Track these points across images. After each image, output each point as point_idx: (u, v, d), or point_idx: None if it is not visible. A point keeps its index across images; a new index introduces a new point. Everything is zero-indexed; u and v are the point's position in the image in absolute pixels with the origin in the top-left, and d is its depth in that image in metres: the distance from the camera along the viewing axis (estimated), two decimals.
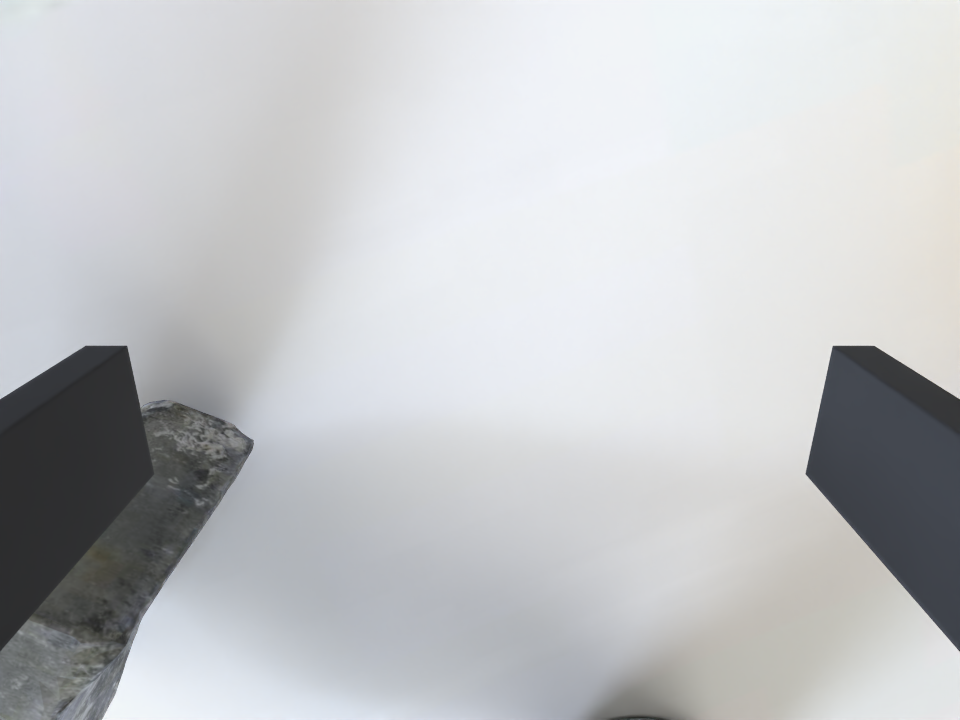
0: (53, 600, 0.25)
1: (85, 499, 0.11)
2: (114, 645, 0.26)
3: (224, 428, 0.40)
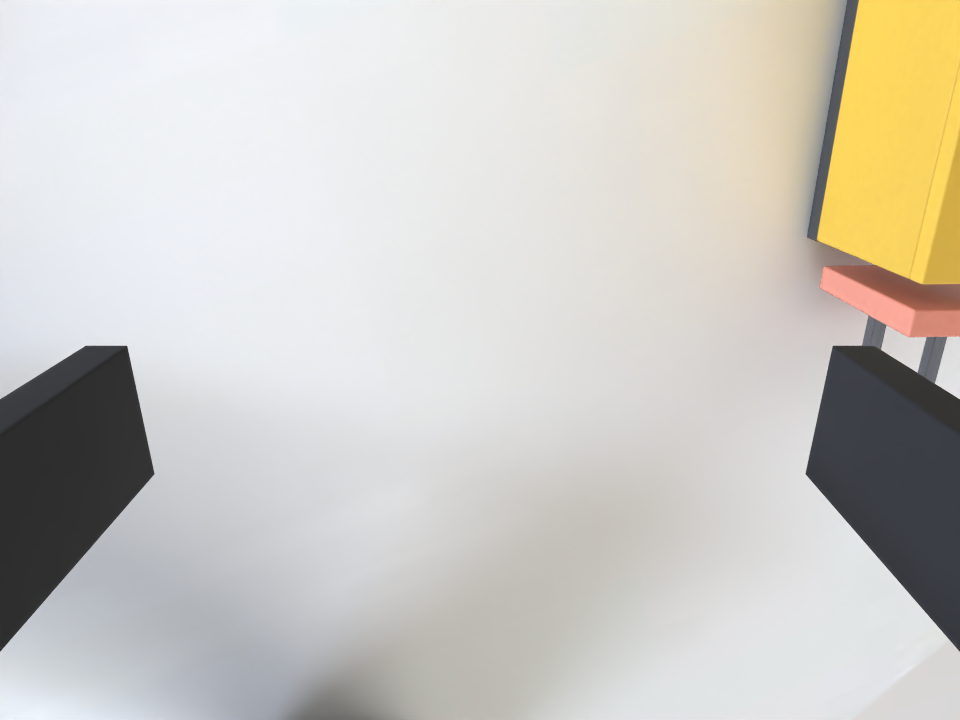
0: None
1: (85, 499, 0.11)
2: None
3: None
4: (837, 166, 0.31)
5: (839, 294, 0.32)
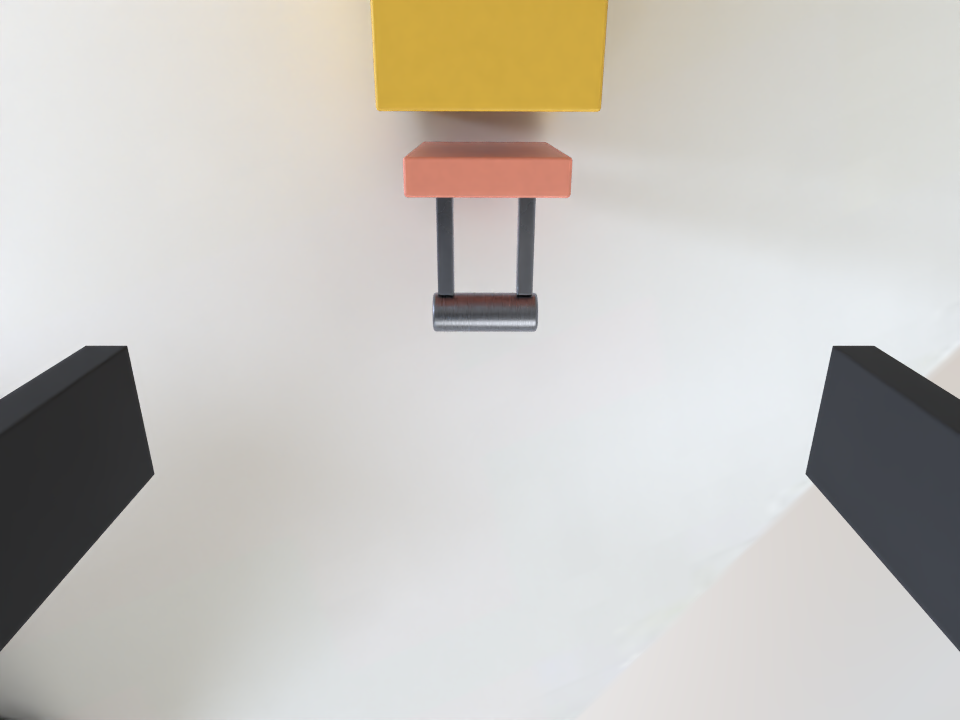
0: None
1: (85, 499, 0.11)
2: None
3: None
4: None
5: None
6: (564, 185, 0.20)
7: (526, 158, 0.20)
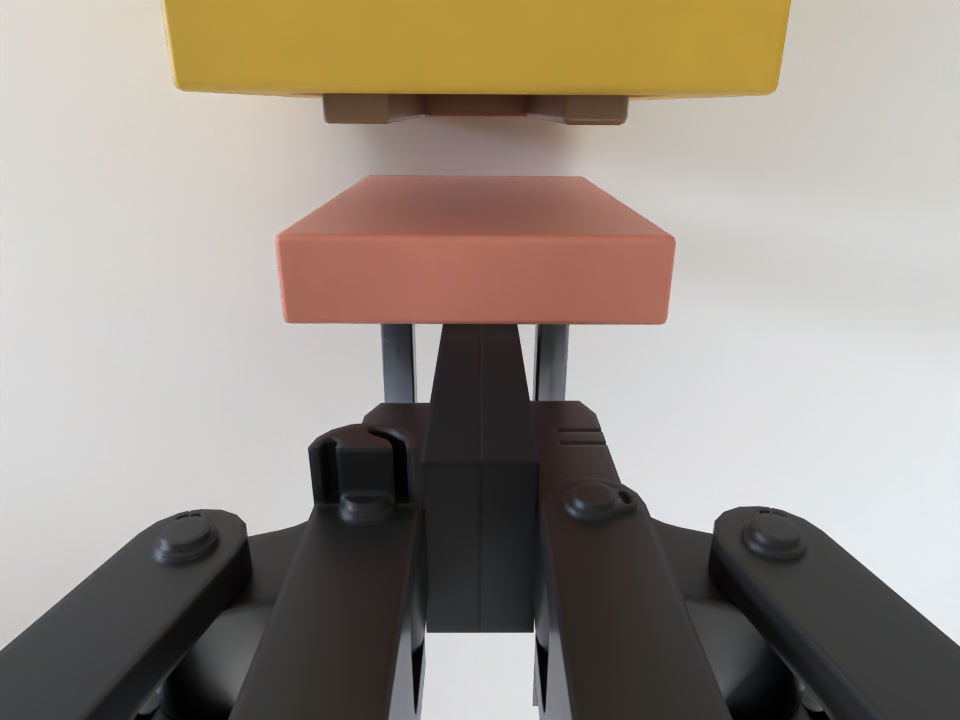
0: None
1: None
2: None
3: None
4: None
5: None
6: (655, 298, 0.09)
7: (567, 238, 0.08)
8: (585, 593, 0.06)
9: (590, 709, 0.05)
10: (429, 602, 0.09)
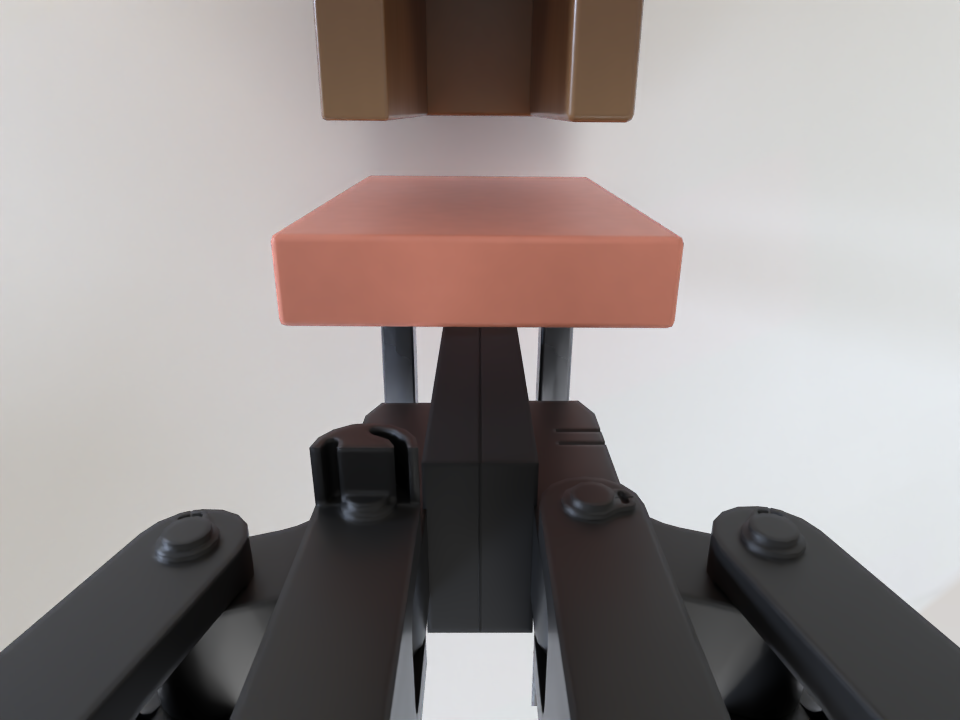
0: None
1: None
2: None
3: None
4: None
5: None
6: (662, 301, 0.08)
7: (572, 238, 0.08)
8: (583, 593, 0.06)
9: (588, 709, 0.05)
10: (430, 602, 0.09)
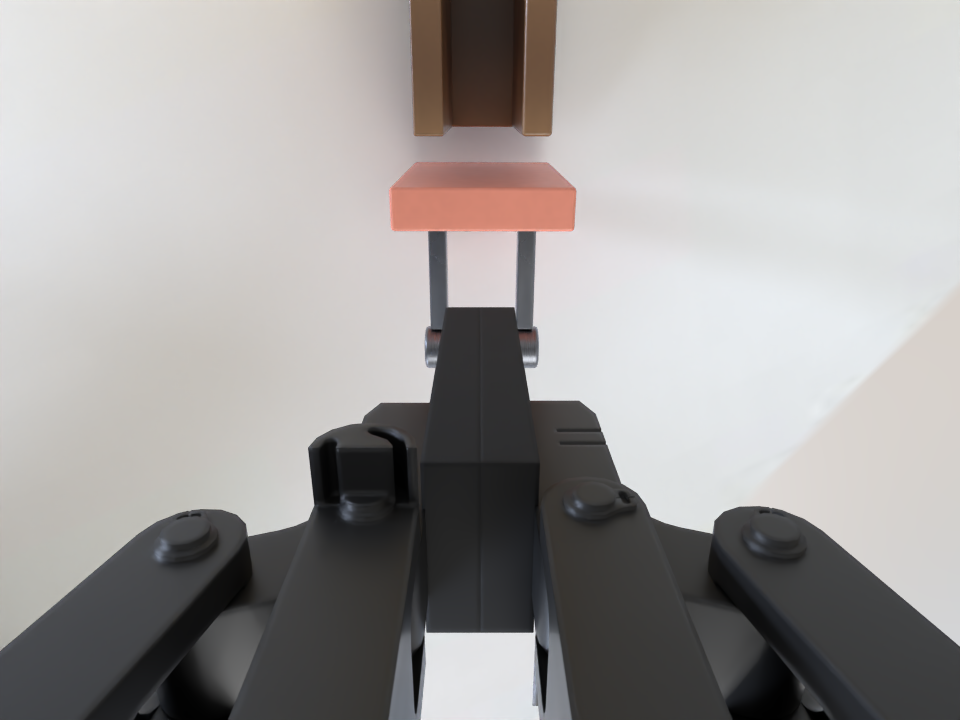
0: None
1: None
2: None
3: None
4: None
5: None
6: (567, 218, 0.18)
7: (525, 188, 0.18)
8: (585, 593, 0.06)
9: (590, 709, 0.05)
10: (429, 602, 0.09)
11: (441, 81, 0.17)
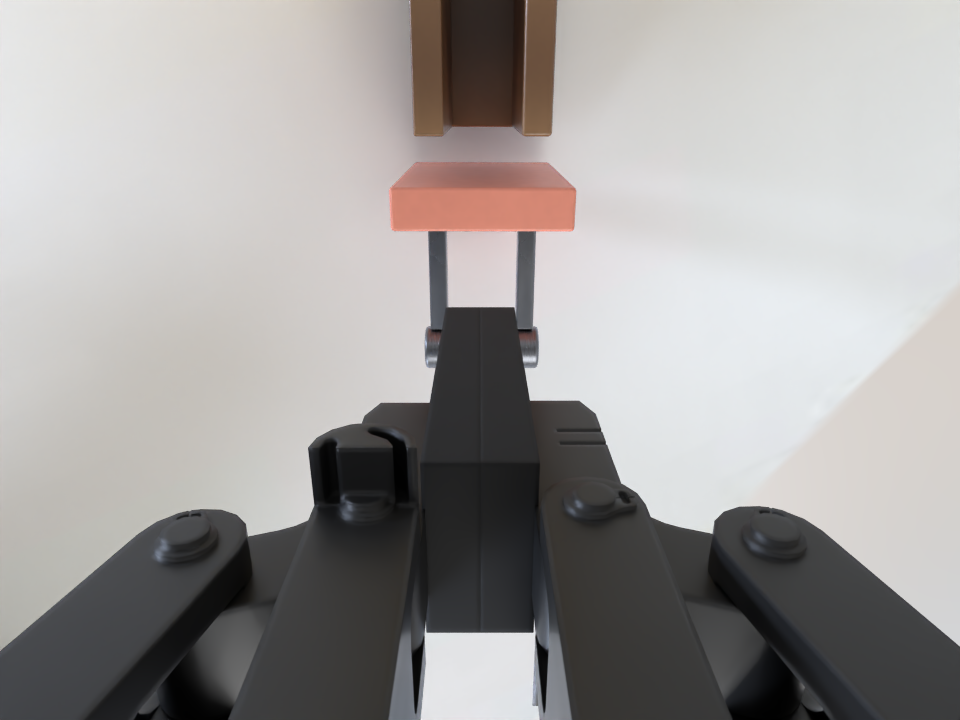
0: None
1: None
2: None
3: None
4: None
5: None
6: (567, 218, 0.18)
7: (525, 188, 0.18)
8: (585, 593, 0.06)
9: (590, 709, 0.05)
10: (429, 602, 0.09)
11: (441, 81, 0.17)
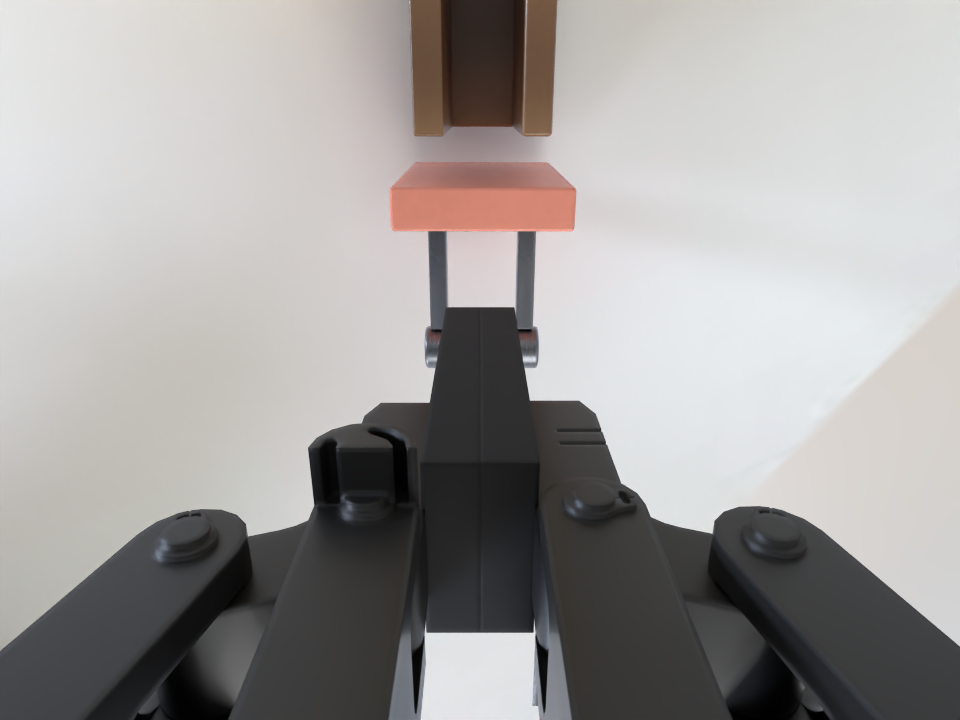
0: None
1: None
2: None
3: None
4: None
5: None
6: (567, 218, 0.18)
7: (525, 188, 0.18)
8: (585, 593, 0.06)
9: (590, 709, 0.05)
10: (429, 602, 0.09)
11: (441, 81, 0.17)
